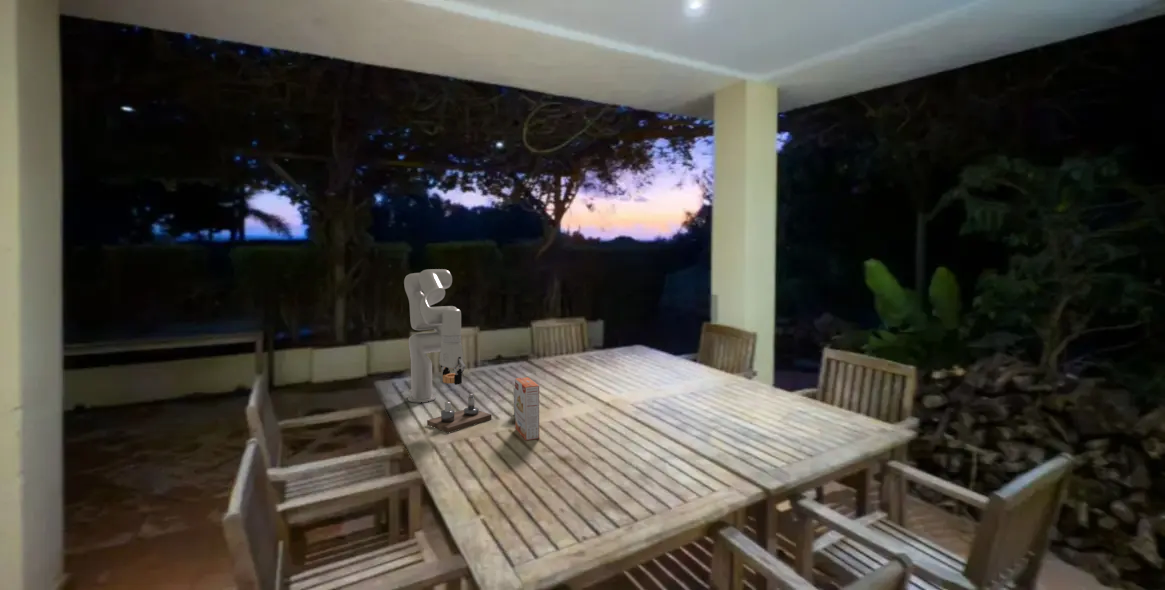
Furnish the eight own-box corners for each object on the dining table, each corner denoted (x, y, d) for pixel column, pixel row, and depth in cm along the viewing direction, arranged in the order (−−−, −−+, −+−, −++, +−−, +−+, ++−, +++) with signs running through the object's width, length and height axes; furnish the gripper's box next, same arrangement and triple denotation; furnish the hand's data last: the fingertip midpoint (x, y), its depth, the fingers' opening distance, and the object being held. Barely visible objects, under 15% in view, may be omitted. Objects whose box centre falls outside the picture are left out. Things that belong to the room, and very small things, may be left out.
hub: (461, 414, 222) (460, 394, 222) (472, 410, 227) (472, 391, 226) (470, 417, 219) (470, 397, 218) (481, 413, 223) (481, 394, 223)
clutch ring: (439, 381, 214) (439, 375, 213) (454, 378, 219) (453, 372, 219) (450, 384, 209) (449, 378, 209) (464, 381, 215) (464, 375, 214)
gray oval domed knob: (438, 421, 213) (438, 402, 213) (449, 417, 217) (449, 399, 217) (446, 423, 210) (446, 405, 209) (457, 420, 214) (456, 402, 213)
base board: (427, 425, 214) (427, 420, 214) (470, 412, 231) (470, 407, 231) (448, 432, 206) (448, 427, 205) (491, 419, 223) (491, 414, 222)
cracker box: (514, 429, 210) (514, 377, 209) (528, 427, 213) (528, 376, 211) (524, 441, 198) (524, 386, 196) (539, 439, 200) (540, 385, 198)
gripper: (431, 337, 215) (431, 380, 217) (457, 343, 204) (457, 388, 206) (446, 335, 221) (447, 377, 223) (472, 340, 210) (473, 384, 211)
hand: (452, 381), depth 214 cm, fingers closed on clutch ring, 7 cm apart
